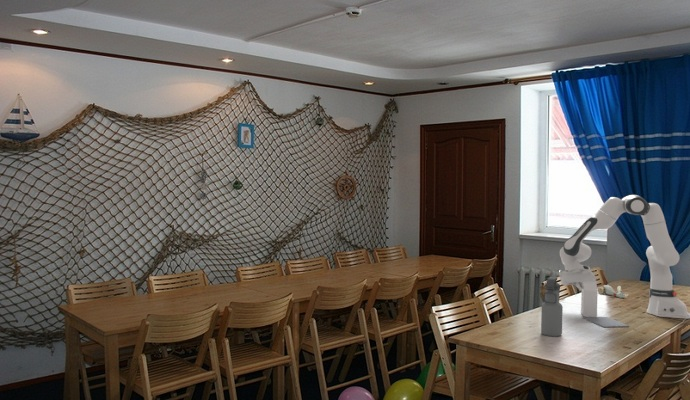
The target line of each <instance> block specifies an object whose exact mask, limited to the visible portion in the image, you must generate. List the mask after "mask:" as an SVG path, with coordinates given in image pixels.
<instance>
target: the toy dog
mask: <svg viewBox="0 0 690 400" xmlns="http://www.w3.org/2000/svg"><path fill="white" fill-rule="evenodd" d="M597 290H598V293H597V294H599V295H604V294H605V295H608V296H612V297H613V296H614V297H616V298H620V299H624V298H625V297H626V298H627V297H629V293H627V294H626V293H624V292H623V290H622V286H621V285H618V286H617V287H616V291H615V289H614V288H613V287H612V286H611V285H609V284H608V282H607V280H605V281H604V285H602V287H601V286H600V287H597Z"/></svg>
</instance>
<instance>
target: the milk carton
mask: <svg viewBox="0 0 690 400" xmlns="http://www.w3.org/2000/svg"><path fill="white" fill-rule="evenodd" d="M597 286H598V285H597V281H596V282H583V285H582V286H581V287H582V291H581V297H580V298H581V301H580V302H581V304H580V305H581V307H580V315H582V316H583V317H598V294H599V293H598V287H597Z"/></svg>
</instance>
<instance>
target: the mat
mask: <svg viewBox="0 0 690 400" xmlns="http://www.w3.org/2000/svg"><path fill="white" fill-rule="evenodd" d="M582 319H583V320H585V321H588V322H590V323H592V324H594V325H597V326H599V327H602V328H607V329H608V328H629V327H630V326H629V324H626V323H623V322H621V321H618V320H616V319H613V318H611V317H608V316H597V317H585V316H583V317H582Z"/></svg>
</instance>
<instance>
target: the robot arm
mask: <svg viewBox="0 0 690 400" xmlns="http://www.w3.org/2000/svg"><path fill="white" fill-rule="evenodd" d="M624 213H628V214H630V215H634V216H640V217H641V219H642V221H643V222H642V223H643V226H644V231H645V235H646V239H648V241H649V243H650V246H648V247H647V249H646V250H645V251H646V252H645V255H646V257H647V260H648V267H649V273H650V288H649V290H648V291H649V292H648V296H649V297H648V298H649V301H648V305H647V309H646V313H648V314H650V315H652V316H653V315H654V316H656V317H661V318H663V317H664V318H675V319H676V318H677V319H686V320H687V319H690V312H688V307H687V305H686V303H685V302H683V301H682V300H680V299H679V298H678V297H677V294H678V293H677V291H676V290H674V289H673V274H672V271H671V268H670V267H673V266H676V265H677V264H678V263H679V262H680V253H679V252H678V251H677V250H676V247H675V245H674V243H673V241H672V239H671V237H670V235H669V231H668V227H667V224H666V222H667V221H666V219H665V216H664V213H663V210H662V208H661V206H660V205H659V204H658V203H655V202H647V201H646V200H645V198H643V197H642V196H640V195H637V194H628V195H626V196H623V197H621V198H619V197H615V196H611V197H609V198H608V199H607V200H606V201H605V202H604V203H603V204H602V206H601V207H600V208H599V209H598V211H597V212H596V213H594V215H592V216H591V217H589V218H587V219H586V220H585V221H584V222H583V223H582V225H581V226H579V228H578V229H577V230H576V231H575V232H574V233H573V234H572V235H571V236H570V237H569V238H566V240H565V241H564V243H563V245H562V247H561V248H560V249H559V257H560V259H561V263H562V265H563V266H564V270H561V269H560V270H559V271H558V276H559V277H560V283H561V285H563V286H575V287H576V288H577V289H578V290H579V292H580V291H581V292H582V285H583V282H596V283H597V278H596V276H595V274H594V272H593V271H592V270H591V268H590V267H591V266H588V265H584V264H581V263H583V262H585V261H587V260H589V259H590V258H591V257H592V254H593V251H592V248H591V247H590V245H588V244H586V243H583V241H585V238H586V237H588V236H589V234H591V232H592V231H595V230H608V229H610V228H612V227H613V226H614V224H615V223H616V222H617V220H618V219H619V217H620V216H621V215H622V214H624Z"/></svg>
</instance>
